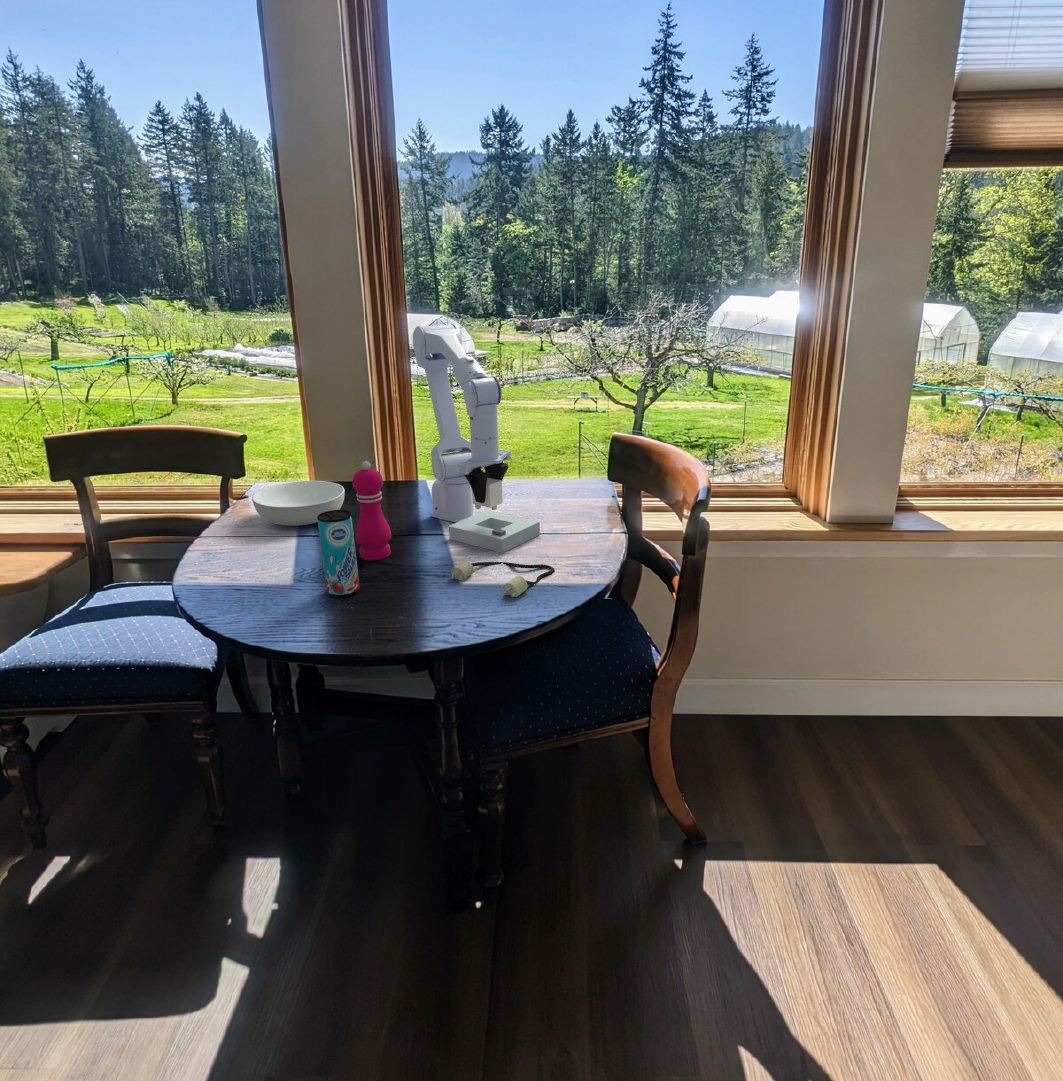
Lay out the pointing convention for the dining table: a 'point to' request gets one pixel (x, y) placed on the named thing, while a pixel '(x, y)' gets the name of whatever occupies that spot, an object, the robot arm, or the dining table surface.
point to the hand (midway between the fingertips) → (487, 499)
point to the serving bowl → (298, 501)
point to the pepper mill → (371, 515)
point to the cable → (510, 588)
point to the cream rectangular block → (491, 494)
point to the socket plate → (494, 530)
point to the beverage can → (338, 552)
